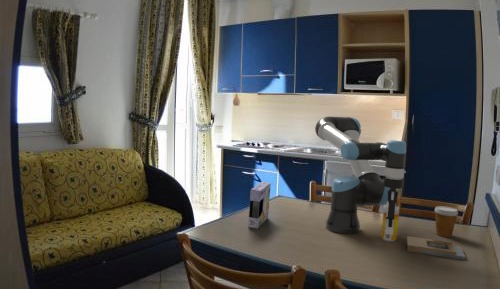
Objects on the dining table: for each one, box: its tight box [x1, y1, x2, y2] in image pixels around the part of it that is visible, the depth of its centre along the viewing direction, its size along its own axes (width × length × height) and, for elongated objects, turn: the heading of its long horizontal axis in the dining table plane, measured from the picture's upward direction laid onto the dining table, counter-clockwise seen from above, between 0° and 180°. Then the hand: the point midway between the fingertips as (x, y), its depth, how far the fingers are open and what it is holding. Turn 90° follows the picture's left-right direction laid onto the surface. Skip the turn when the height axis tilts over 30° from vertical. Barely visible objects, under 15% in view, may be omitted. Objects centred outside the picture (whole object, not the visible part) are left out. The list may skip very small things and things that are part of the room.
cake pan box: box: [247, 181, 272, 230], centre depth 179 cm, size 19×5×18 cm, turn 162°
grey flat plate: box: [421, 243, 466, 261], centre depth 153 cm, size 15×12×1 cm
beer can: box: [381, 202, 400, 243], centre depth 164 cm, size 6×6×15 cm
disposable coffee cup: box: [434, 205, 459, 238], centre depth 174 cm, size 10×10×12 cm
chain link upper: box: [406, 235, 456, 255], centre depth 154 cm, size 17×12×2 cm
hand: (389, 231), depth 164 cm, fingers closed on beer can, 6 cm apart
